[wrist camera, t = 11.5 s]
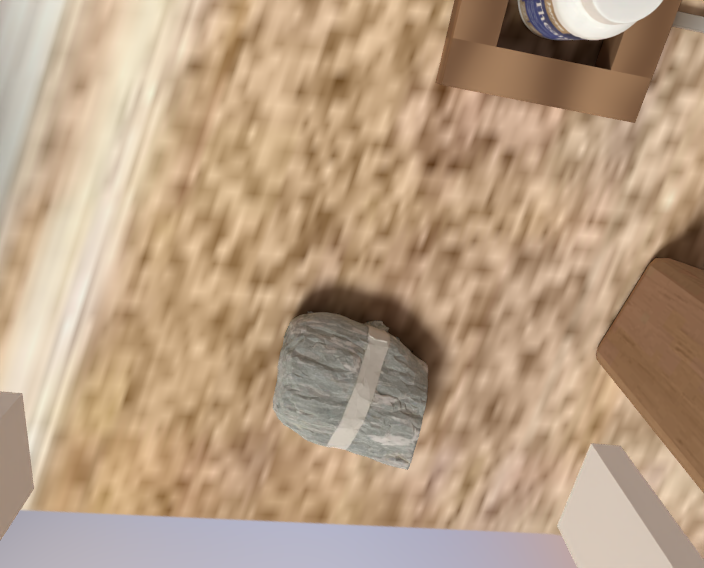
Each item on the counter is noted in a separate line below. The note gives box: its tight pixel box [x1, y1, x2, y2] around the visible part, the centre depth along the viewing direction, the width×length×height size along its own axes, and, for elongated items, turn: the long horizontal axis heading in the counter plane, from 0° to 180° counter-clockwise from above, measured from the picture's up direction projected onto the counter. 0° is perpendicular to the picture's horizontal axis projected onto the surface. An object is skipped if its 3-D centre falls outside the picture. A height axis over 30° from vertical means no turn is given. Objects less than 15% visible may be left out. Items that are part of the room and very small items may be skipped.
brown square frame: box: [436, 0, 704, 123], centre depth 34 cm, size 27×13×2 cm, turn 80°
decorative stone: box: [273, 311, 428, 470], centre depth 43 cm, size 13×10×6 cm
